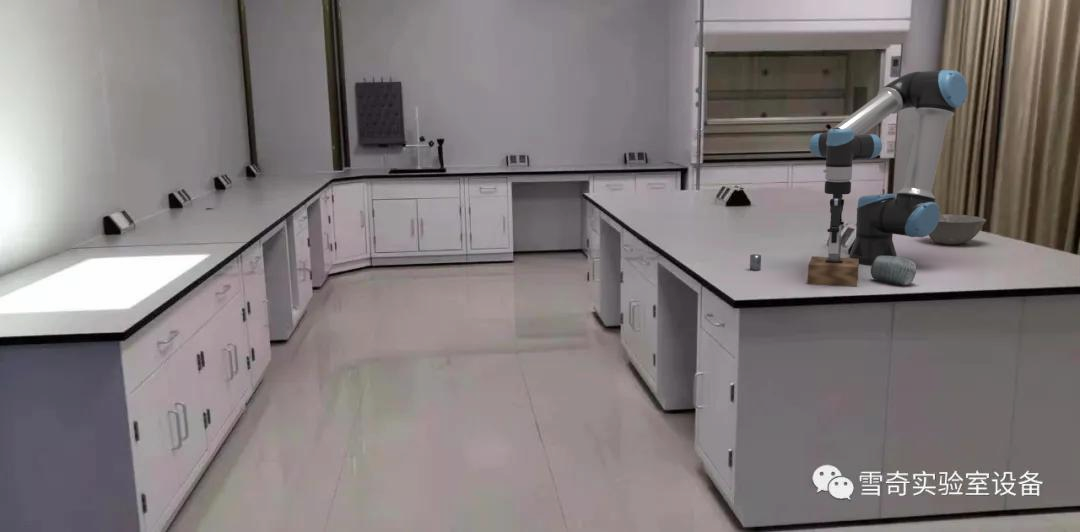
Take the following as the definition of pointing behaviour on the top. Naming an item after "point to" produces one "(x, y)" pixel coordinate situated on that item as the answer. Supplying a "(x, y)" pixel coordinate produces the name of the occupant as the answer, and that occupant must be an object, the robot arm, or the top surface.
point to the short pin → (755, 262)
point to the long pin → (835, 257)
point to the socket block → (833, 271)
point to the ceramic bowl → (956, 228)
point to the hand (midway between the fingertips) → (834, 249)
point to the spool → (893, 270)
